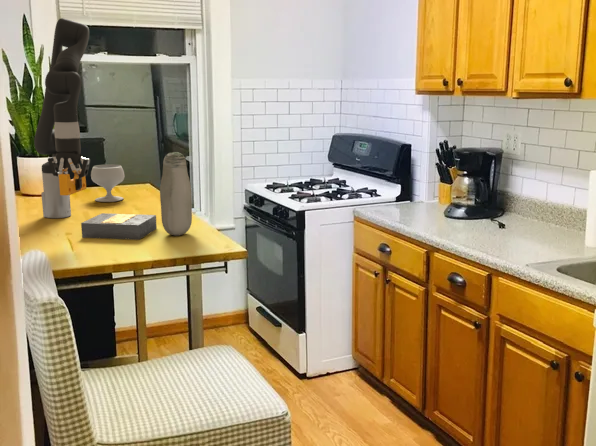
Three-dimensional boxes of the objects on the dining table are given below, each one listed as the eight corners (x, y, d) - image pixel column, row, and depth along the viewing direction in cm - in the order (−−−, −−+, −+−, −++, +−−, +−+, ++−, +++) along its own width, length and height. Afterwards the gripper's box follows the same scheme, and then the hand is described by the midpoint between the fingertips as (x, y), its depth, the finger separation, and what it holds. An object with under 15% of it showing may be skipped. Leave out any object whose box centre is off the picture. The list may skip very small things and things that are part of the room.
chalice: (94, 204, 272) (92, 168, 269) (91, 198, 285) (88, 164, 281) (128, 201, 277) (126, 167, 274) (123, 196, 290) (121, 163, 287)
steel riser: (82, 237, 214) (81, 222, 213) (103, 227, 230) (102, 212, 229) (139, 239, 212) (138, 224, 211) (156, 228, 227) (155, 214, 226)
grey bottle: (189, 238, 214) (186, 154, 208) (159, 237, 214) (155, 154, 208) (195, 231, 224) (192, 150, 218) (165, 231, 224) (162, 150, 218)
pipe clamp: (74, 188, 213) (72, 169, 212) (86, 188, 213) (85, 169, 211) (54, 194, 202) (53, 174, 200) (67, 195, 201) (66, 175, 200)
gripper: (40, 136, 201) (44, 190, 205) (82, 137, 199) (86, 192, 203) (52, 134, 208) (56, 186, 212) (94, 135, 206) (97, 188, 210)
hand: (71, 189), depth 207 cm, fingers closed on pipe clamp, 4 cm apart
